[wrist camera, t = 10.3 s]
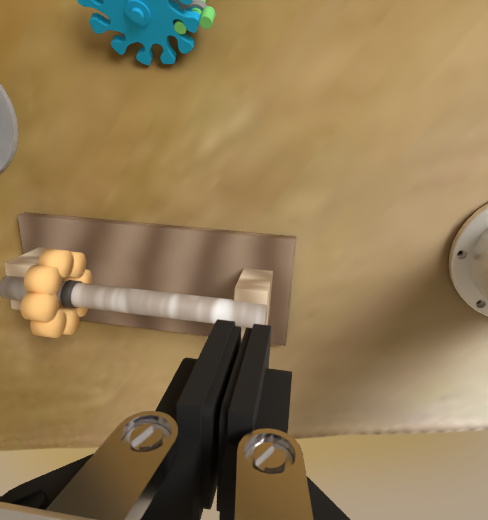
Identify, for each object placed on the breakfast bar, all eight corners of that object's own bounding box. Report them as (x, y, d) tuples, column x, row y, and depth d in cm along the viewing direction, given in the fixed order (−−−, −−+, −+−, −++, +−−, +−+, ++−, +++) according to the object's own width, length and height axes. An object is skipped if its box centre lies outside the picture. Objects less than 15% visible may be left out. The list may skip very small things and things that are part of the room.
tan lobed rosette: (89, 238, 42) (35, 267, 34) (95, 313, 45) (47, 357, 37) (71, 236, 42) (13, 264, 34) (78, 311, 45) (27, 354, 37)
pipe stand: (296, 236, 40) (292, 262, 33) (286, 340, 44) (281, 383, 37) (24, 212, 44) (-32, 230, 37) (38, 309, 48) (-11, 343, 41)
